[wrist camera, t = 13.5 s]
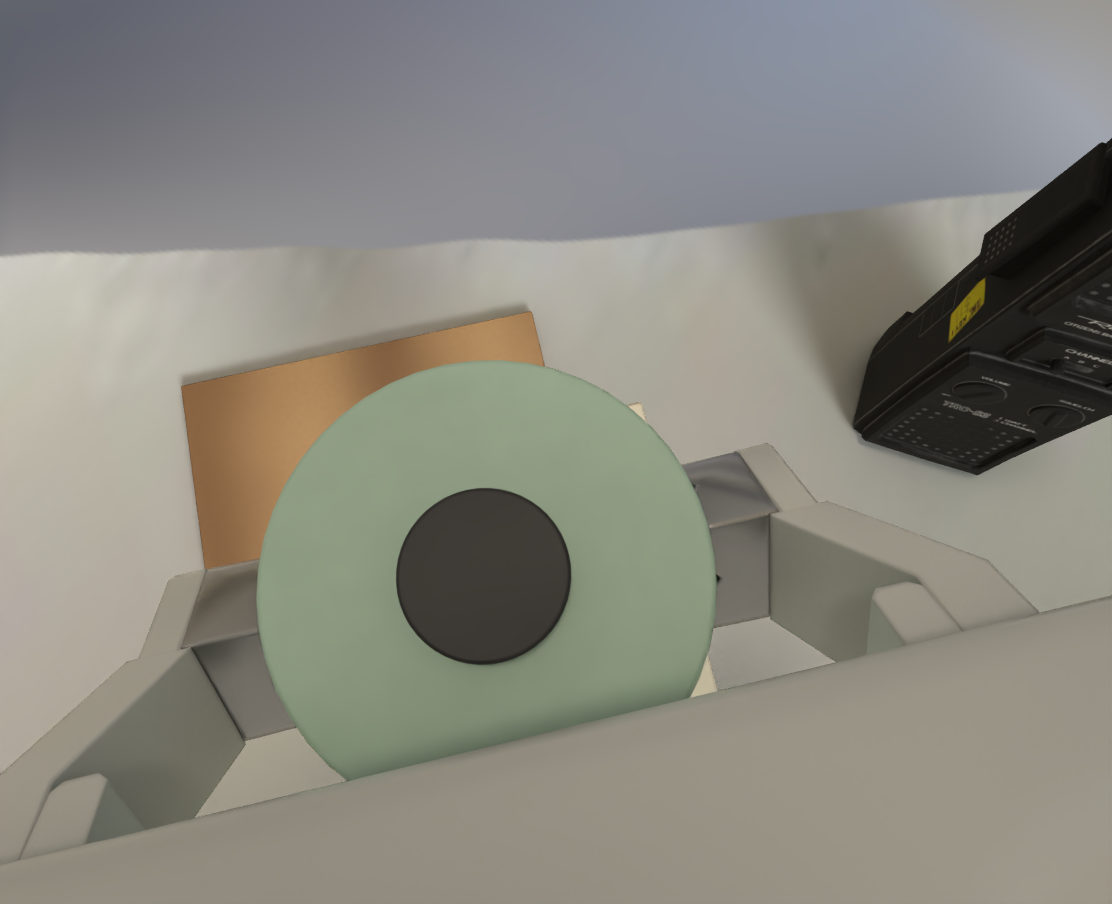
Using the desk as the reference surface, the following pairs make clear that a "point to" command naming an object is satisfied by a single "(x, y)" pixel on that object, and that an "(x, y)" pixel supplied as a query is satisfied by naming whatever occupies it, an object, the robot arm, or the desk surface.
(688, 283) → the desk surface
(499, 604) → the blender
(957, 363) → the portable radio
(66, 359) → the desk surface
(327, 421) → the cork mat
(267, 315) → the desk surface
